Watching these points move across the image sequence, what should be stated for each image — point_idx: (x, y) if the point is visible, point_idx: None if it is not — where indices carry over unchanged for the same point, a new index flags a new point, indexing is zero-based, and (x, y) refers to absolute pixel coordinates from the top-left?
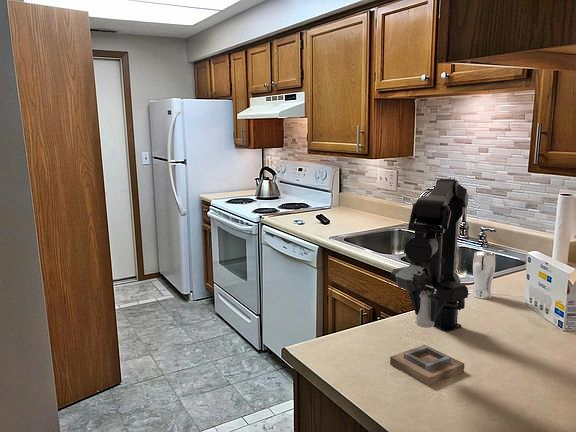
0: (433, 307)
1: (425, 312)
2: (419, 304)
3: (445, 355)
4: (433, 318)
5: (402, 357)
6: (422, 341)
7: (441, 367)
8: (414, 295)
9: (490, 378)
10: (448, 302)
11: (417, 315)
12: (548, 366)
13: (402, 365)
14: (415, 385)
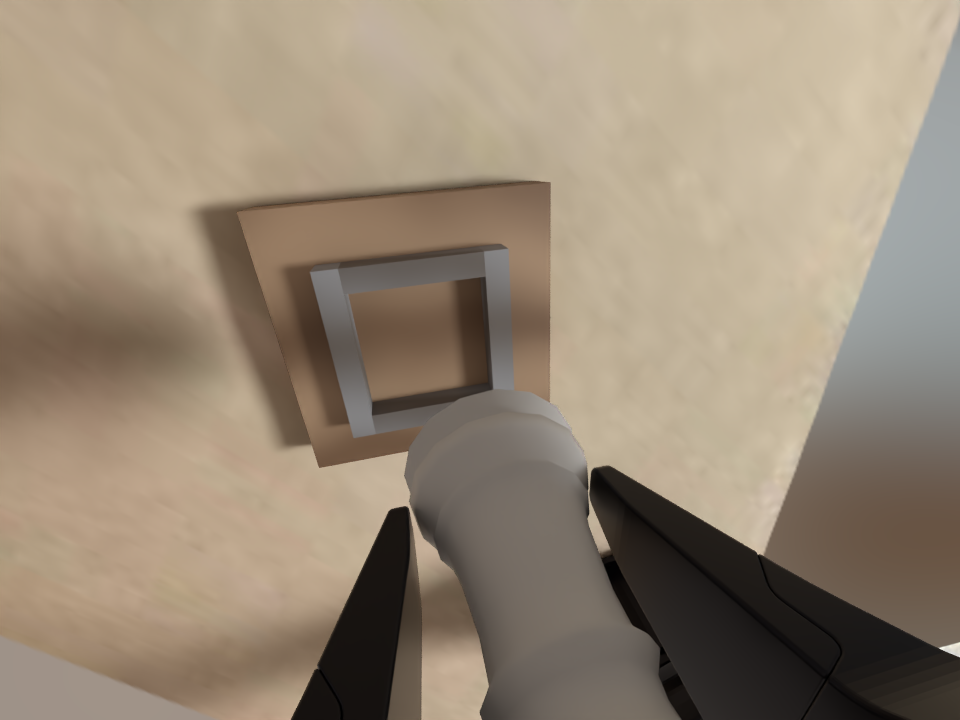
0: (322, 712)
1: (483, 542)
2: (655, 586)
3: (382, 429)
4: (377, 544)
5: (507, 241)
6: (604, 450)
7: (325, 354)
8: (814, 685)
9: (235, 496)
10: (672, 685)
11: (566, 458)
12: (252, 680)
13: (451, 190)
14: (287, 143)
